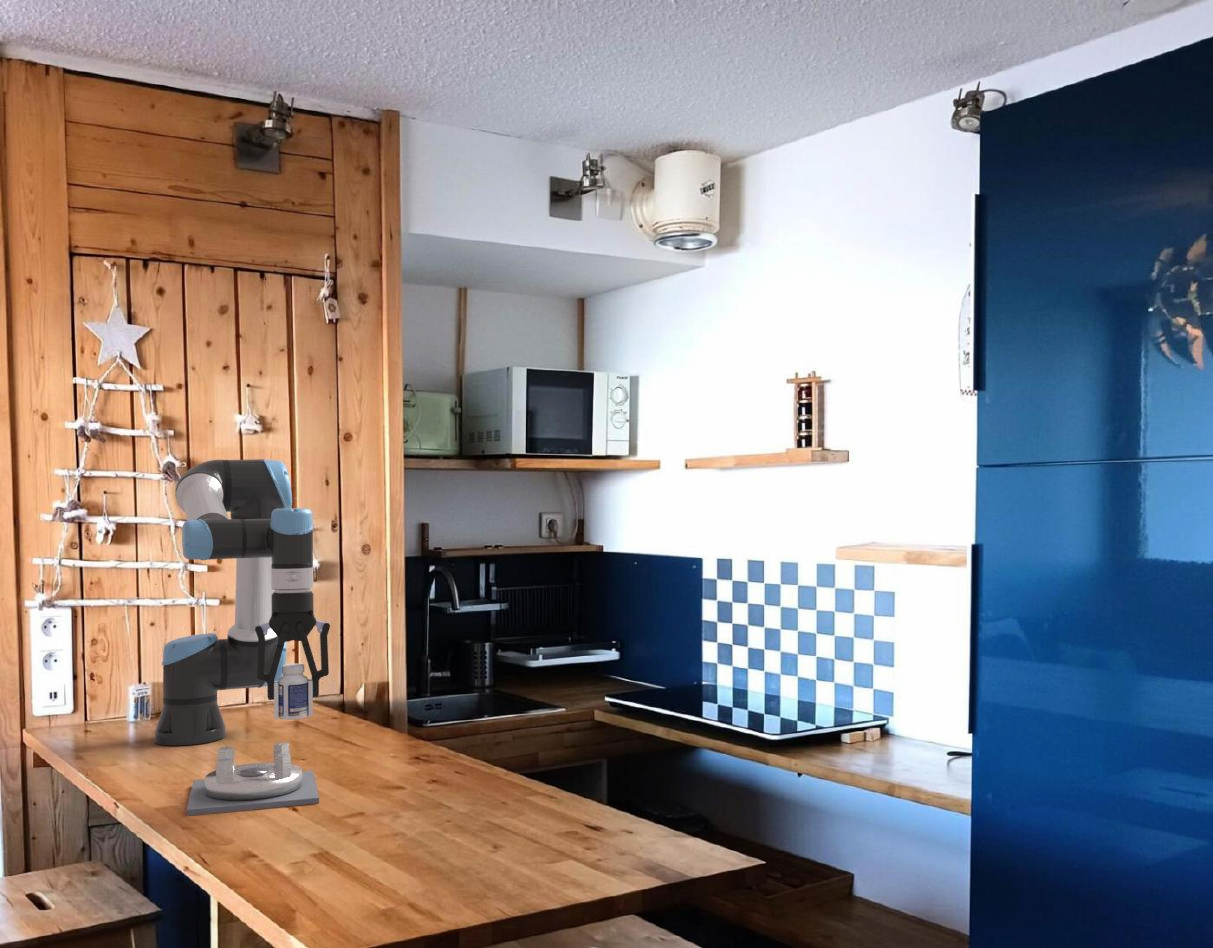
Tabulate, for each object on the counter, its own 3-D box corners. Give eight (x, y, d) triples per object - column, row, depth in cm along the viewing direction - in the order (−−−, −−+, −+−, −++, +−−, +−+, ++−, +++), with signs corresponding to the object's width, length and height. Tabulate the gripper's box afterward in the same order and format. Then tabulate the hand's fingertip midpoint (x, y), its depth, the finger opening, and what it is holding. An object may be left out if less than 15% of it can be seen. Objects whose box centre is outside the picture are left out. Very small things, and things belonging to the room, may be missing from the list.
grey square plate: (193, 786, 208) (193, 779, 208) (313, 775, 215) (313, 769, 215) (186, 815, 188) (186, 808, 188) (319, 803, 195) (319, 796, 195)
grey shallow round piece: (184, 793, 198) (184, 757, 198) (254, 772, 213) (254, 738, 213) (253, 804, 190) (253, 766, 190) (321, 781, 205) (321, 746, 205)
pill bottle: (313, 715, 206) (313, 663, 206) (300, 720, 201) (299, 667, 201) (287, 714, 207) (286, 662, 207) (272, 720, 202) (272, 666, 202)
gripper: (240, 594, 198) (240, 723, 198) (344, 590, 204) (345, 716, 203) (240, 591, 205) (241, 716, 205) (341, 587, 211) (342, 709, 210)
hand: (293, 715), depth 204 cm, fingers closed on pill bottle, 5 cm apart
